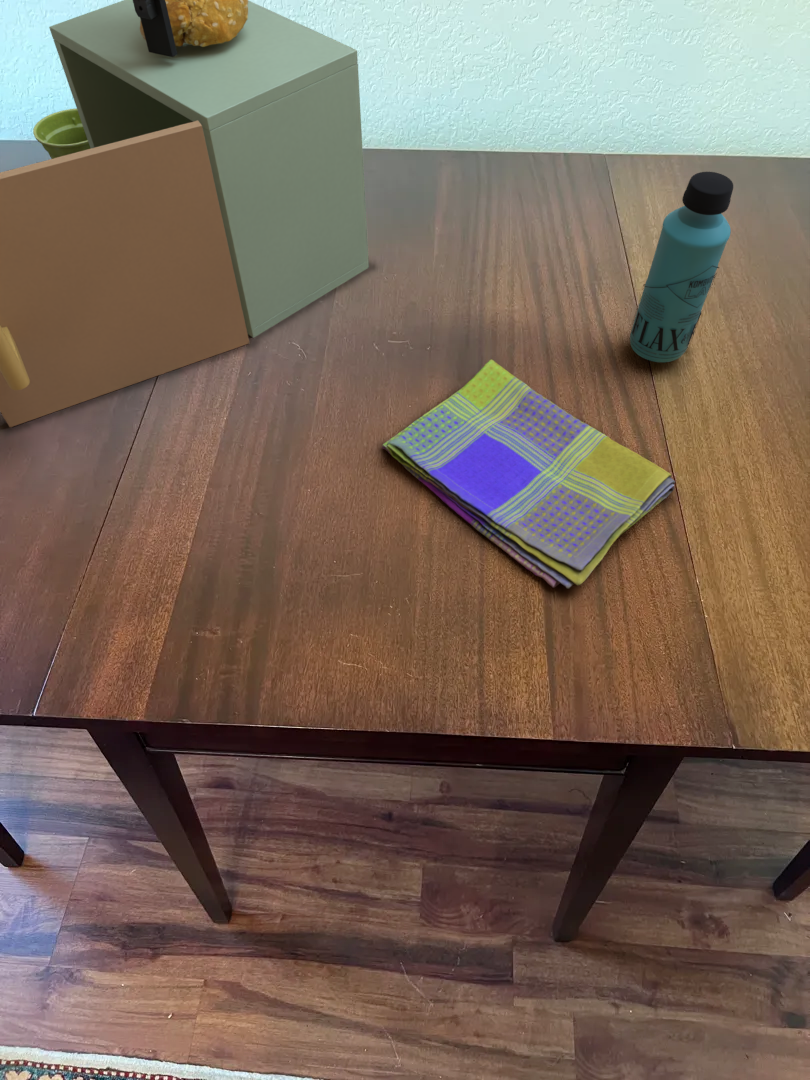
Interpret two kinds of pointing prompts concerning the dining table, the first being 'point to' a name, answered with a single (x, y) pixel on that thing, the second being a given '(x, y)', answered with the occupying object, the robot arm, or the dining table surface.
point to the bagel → (205, 20)
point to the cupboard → (244, 140)
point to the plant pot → (61, 133)
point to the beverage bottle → (682, 269)
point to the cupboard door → (111, 271)
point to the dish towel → (530, 475)
